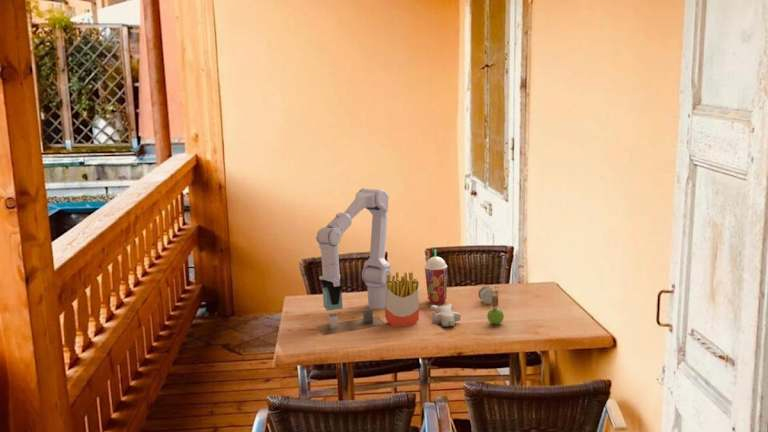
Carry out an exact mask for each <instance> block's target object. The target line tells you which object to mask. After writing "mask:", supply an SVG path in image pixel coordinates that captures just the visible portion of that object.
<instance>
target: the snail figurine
mask: <svg viewBox="0 0 768 432" xmlns="http://www.w3.org/2000/svg"><path fill="white" fill-rule="evenodd" d="M494 288H495V290H494V292H495V294H493V296H492V303H491V306H492V308H490V309H489V310H488V312H487V314H486V315H487V316H486V317H487V320H488V321H489V323H490V324H492V325H500V324H501V323H502V322H503V321H504V318H505V315H504V312H503V310H501V309H500V308H498V307H499V286H496V285H495V286H494Z"/></svg>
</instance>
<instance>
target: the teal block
mask: <svg viewBox="0 0 768 432" xmlns="http://www.w3.org/2000/svg"><path fill="white" fill-rule="evenodd" d="M342 294H343V292H342V291H341V292H340V297H339V303H338V304H336V305H332V303H331V299H330V294H329V291H328V289H327V287H325V288H324V287H322V298H323V307H324V309H325V310H326V311H327V312H328V311H334V310H341V309H343V295H342Z"/></svg>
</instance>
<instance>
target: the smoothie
mask: <svg viewBox="0 0 768 432" xmlns="http://www.w3.org/2000/svg"><path fill="white" fill-rule="evenodd" d="M433 251H434V253H433V254H434V256H432V257H430V258H429V259H428V260H426V262H425V265H424V273H425V283H426V294H427V300H428V301H429V303H430V304H431V305H441V304H445V302H446V300H447V290H448V289H447V288H448V287H447V285H448V284H447V283H448V265H447V264H446V261H445V259H443V258H442V257H440V256H437V249H436V248H435V249H434V250H433Z"/></svg>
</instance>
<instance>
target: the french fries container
mask: <svg viewBox="0 0 768 432" xmlns="http://www.w3.org/2000/svg"><path fill="white" fill-rule="evenodd" d="M403 273H404V274H403V275H402V276H400V277H399V271H396V272H395V274H392V275H391V281H390V274H387V281H386V300H385V308H384V310H385V311H384V312H385V313H384V314H385V315H384V317H385V320H386V322H387V323H389V325H391V326H392V327H393V326H406V325H408V326H409V325H414V324H416V323H417V322H418V321H419V320H420V319H419V317H420V316H419V315H420V307H419V306H420V305H419V284H420V283H419V280H418V279H417V277H415V278H414V275H413V274H414V272H413V271H408V274H407V272H406V271H404V272H403Z"/></svg>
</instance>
